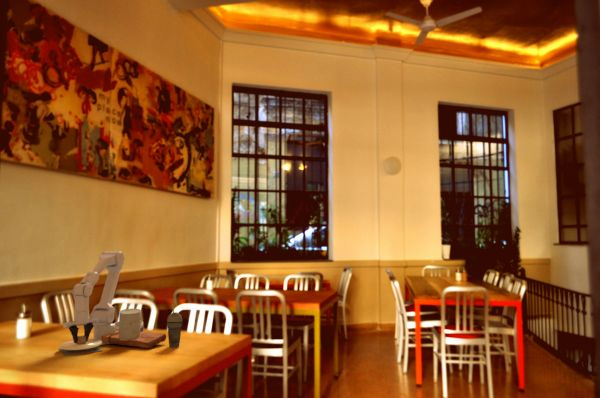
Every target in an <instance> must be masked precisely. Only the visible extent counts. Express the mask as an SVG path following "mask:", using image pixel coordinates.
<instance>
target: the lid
mask: <svg viewBox="0 0 600 398" xmlns="http://www.w3.org/2000/svg"><path fill="white" fill-rule="evenodd" d="M101 344H102V341H101V340H98V339H93V338H88V341H86V336H84V335H77V343H74V341H73V340H68V341H65V342H62V343H60V344H59V348H60V349H63V350H82V349H89V348H94V347H97V346H98V347H99V346H102V345H101ZM59 348H58V349H59Z"/></svg>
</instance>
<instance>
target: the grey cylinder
mask: <svg viewBox="0 0 600 398" xmlns="http://www.w3.org/2000/svg"><path fill="white" fill-rule="evenodd" d="M141 311H142V310H141V309H139V308H126V309H125V308H124V309H122V310H120V311H119V312H118V313H119V314H118V315H119V317H118V320H119V321H118V322H119V339H120V340H123V341H128V340H135V339H138V338H140V337H141V336H140V324H141V321H142V320H141V313H142V312H141Z"/></svg>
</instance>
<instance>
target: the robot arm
mask: <svg viewBox="0 0 600 398" xmlns="http://www.w3.org/2000/svg"><path fill="white" fill-rule="evenodd" d="M98 259H99V261H98V262H97V264H96V265H95V267H94V268H93V269H92V271H88V272H87V273H86V275H85V276H83V278H82V279H81V280H80V282H79V283H76V284H75V285H74V286H73V287H72V290H71V293H72V297H73V300H74V316H73V317H74V318H73V320H72V321H67V322H63V324H62V325H63V328H64V329H68V330H69V332H70V334H71V336H72V341H74V343H77V336H79V335H78V333H79V329H80V328H79V326H83V330H84V332H83V333H84V336H86V341H88V339H90V338H89V337H90V334H91V333H92V330H93V337H92V339H98V340H101V341H102V339H101V336H104V335H108V334H113V335H115V334H114V333H115V324H114V323H115V322H114V320H115V317H116V315H115V313H116V312H115V311H116V308H115V307H114V306H113V305H112V304H113V299H114V295H115V291H116V288H117V285H118V281H119V278H120V274H121V270H122V269H123V265H124V262H125V255H124V253H123V251H121V250H120V251H105V250H104V251H102V252H101V253H100V255H99V258H98ZM105 270H107V271H108V273H107V277H106V280H105V283H104V286H103V290H102V293H101V297H100V300H99V303H97V304H96V305H95V306H93V309H92V311H91V313H89V311H90V309H89V308H90V307H89V306H90V296H91V295H92V294H93V290H94V286H95V285H96V284H97V282H98V281H99V280H100V274H101V273H102V272H103V271H105ZM113 322H114V323H113ZM113 335H111V336H113ZM111 336H109V339H110V337H111ZM110 344H113V343H110V342H109V343H107V342H102V344H101V345H100V346H104V345H110Z"/></svg>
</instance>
